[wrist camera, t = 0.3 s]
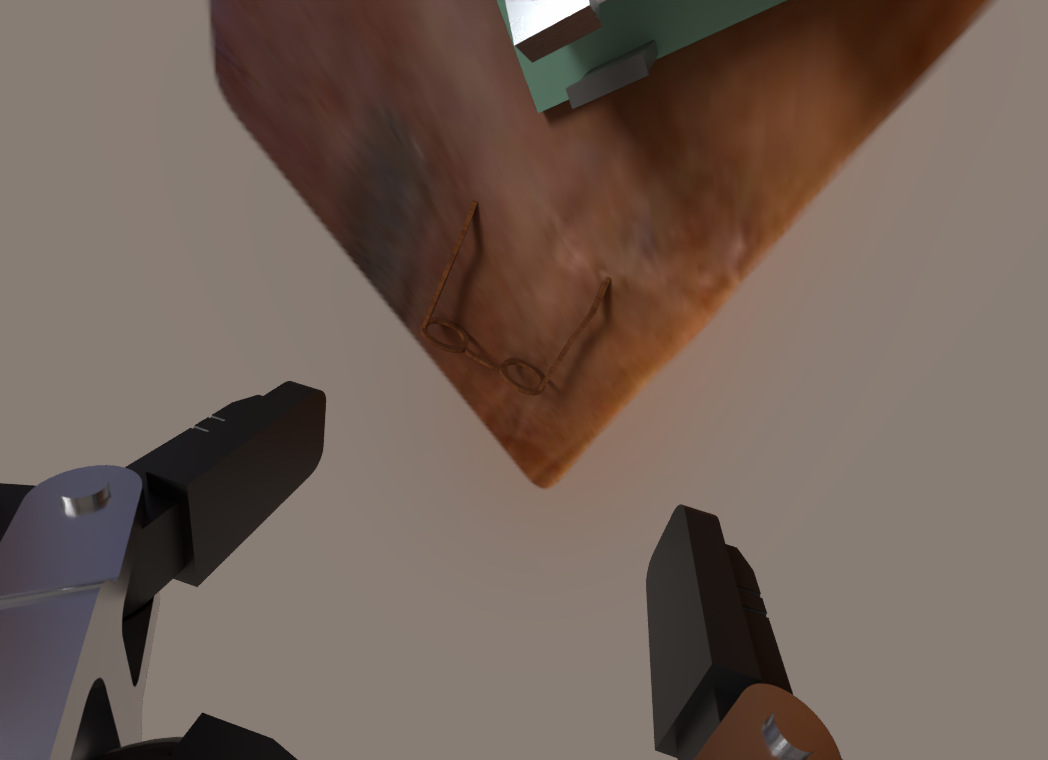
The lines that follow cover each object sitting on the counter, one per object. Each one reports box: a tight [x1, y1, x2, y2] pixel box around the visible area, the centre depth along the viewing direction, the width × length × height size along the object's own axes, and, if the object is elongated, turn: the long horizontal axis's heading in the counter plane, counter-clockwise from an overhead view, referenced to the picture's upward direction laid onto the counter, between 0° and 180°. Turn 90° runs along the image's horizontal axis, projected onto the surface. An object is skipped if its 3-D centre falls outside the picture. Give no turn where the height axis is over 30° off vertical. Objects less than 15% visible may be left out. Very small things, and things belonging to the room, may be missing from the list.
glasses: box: [420, 201, 611, 395], centre depth 42 cm, size 13×13×5 cm
